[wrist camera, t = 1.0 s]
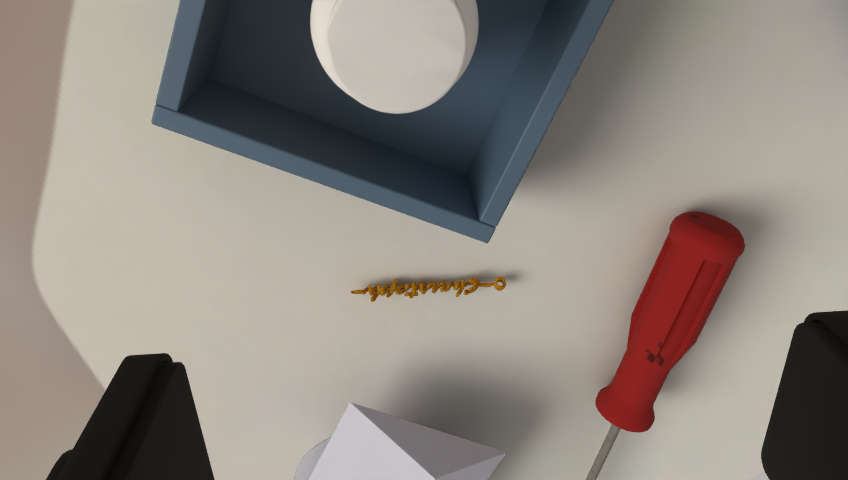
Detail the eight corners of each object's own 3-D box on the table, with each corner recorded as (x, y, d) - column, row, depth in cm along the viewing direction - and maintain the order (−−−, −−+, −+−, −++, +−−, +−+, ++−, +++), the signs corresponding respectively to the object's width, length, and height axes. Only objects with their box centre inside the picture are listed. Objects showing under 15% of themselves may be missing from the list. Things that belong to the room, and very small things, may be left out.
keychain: (504, 270, 34) (507, 280, 33) (503, 287, 34) (506, 298, 33) (350, 279, 33) (349, 289, 33) (352, 296, 34) (351, 307, 33)
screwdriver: (519, 538, 43) (529, 588, 40) (665, 200, 32) (695, 232, 29) (569, 544, 44) (583, 593, 41) (729, 213, 33) (765, 246, 30)
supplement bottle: (363, -104, 25) (352, -104, 17) (483, -31, 27) (530, 5, 18) (304, 24, 27) (267, 83, 19) (418, 86, 29) (432, 168, 20)
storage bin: (283, -273, 23) (256, -318, 18) (615, -103, 26) (668, -103, 21) (189, 85, 29) (150, 124, 24) (472, 190, 32) (488, 244, 27)
